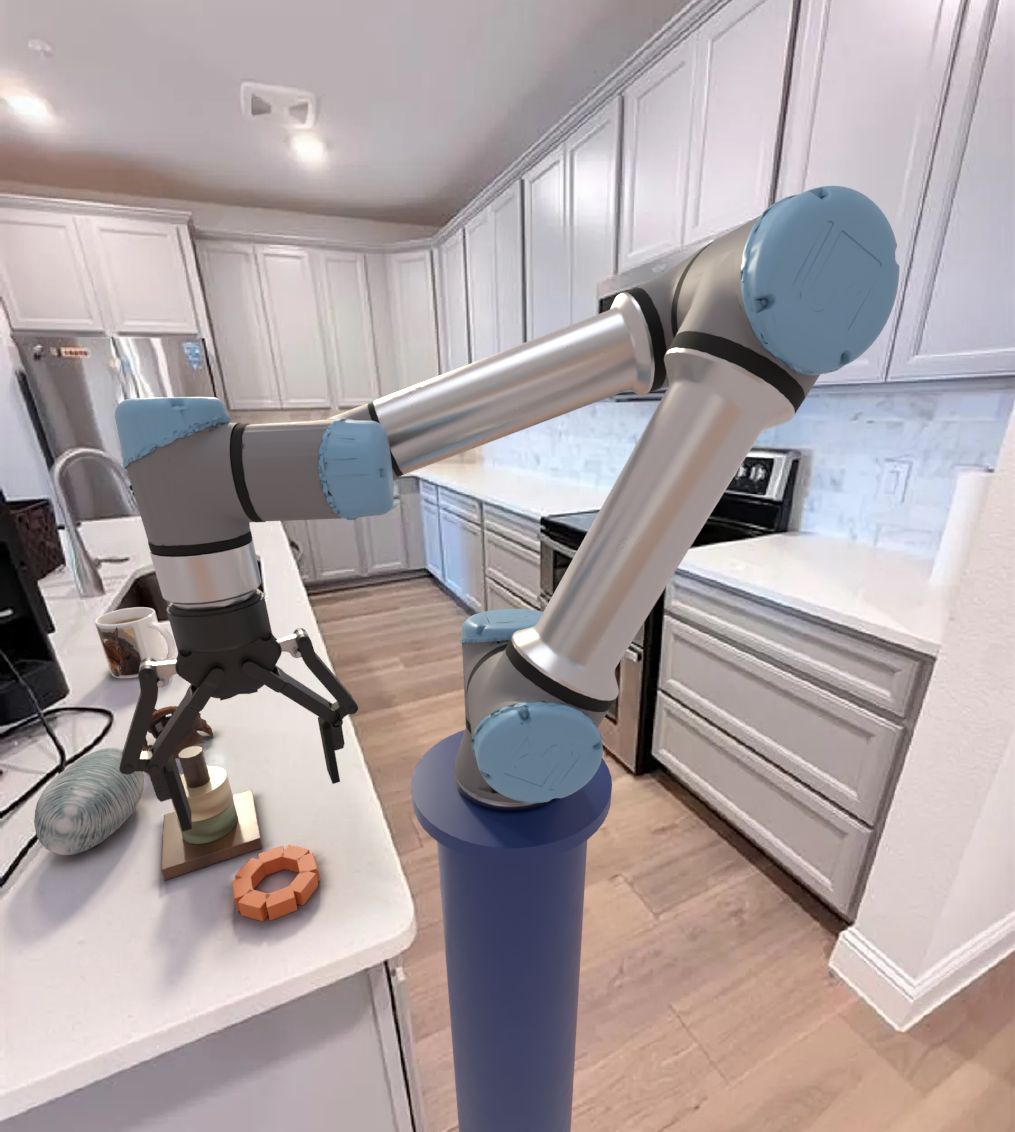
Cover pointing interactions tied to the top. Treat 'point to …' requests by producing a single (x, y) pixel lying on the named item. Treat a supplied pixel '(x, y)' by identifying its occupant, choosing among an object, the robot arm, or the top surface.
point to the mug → (132, 639)
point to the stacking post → (208, 819)
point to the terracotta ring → (280, 900)
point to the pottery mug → (190, 736)
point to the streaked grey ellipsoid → (86, 803)
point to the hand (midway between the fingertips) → (264, 797)
